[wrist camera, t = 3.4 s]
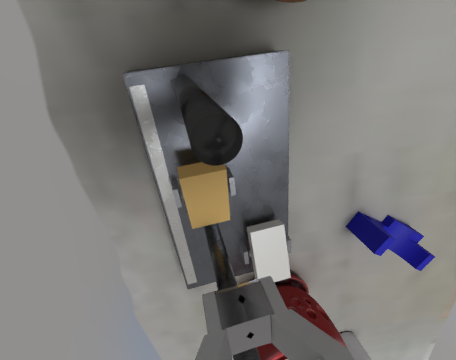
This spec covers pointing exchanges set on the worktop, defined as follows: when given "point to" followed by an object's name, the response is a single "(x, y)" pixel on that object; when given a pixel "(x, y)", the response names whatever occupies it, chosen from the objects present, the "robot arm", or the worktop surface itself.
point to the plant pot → (306, 307)
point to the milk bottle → (354, 346)
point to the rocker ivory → (269, 250)
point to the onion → (291, 0)
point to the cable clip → (390, 238)
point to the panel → (258, 151)
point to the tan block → (205, 193)
